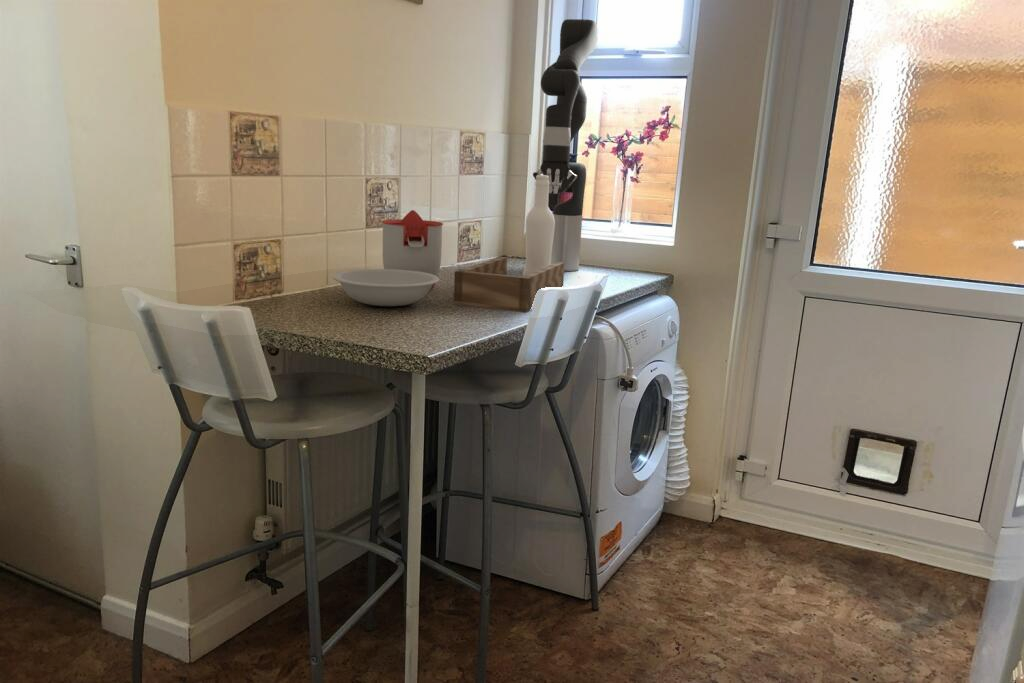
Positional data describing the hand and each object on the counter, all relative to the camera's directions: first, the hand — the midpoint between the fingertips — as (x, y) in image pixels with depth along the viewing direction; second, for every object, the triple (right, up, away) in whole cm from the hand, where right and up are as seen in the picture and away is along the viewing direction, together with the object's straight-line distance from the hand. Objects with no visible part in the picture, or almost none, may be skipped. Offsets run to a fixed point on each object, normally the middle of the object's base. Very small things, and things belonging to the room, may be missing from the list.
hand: (553, 207), depth 228 cm
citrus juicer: (-38, -24, -20) cm, 49 cm away
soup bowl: (-41, -30, -43) cm, 67 cm away
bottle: (-5, -23, -6) cm, 24 cm away
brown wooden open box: (-12, -27, -27) cm, 40 cm away
